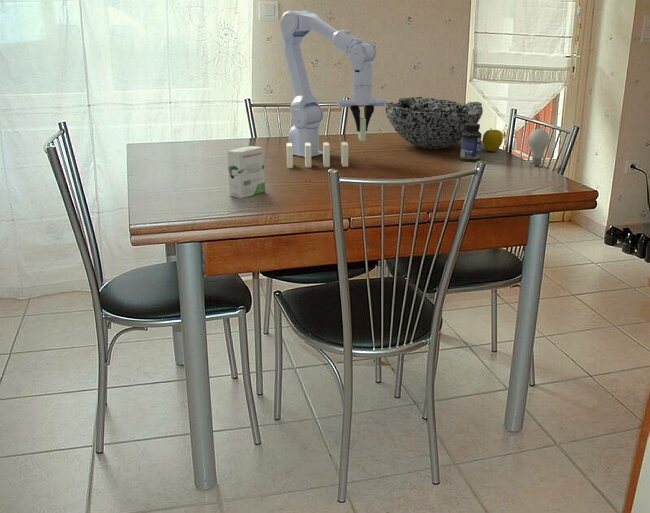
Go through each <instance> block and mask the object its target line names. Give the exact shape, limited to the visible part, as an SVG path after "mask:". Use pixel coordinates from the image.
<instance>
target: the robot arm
mask: <svg viewBox="0 0 650 513" xmlns="http://www.w3.org/2000/svg"><path fill="white" fill-rule="evenodd" d="M279 26H280V30H281V31H280V32H281V34H280V44H281V49H282V53H283V57H284V60H285V65H286V68H287V72H288V73H287V74H288V78H289V81H290V85H291V89H292V94H293V97H294V99H293V100H292V102H291V104H290V105H289V106H290V110H291V112H290V120H291V122H292V124H293V126H292V127H290V130H289V132H288V143H292V150H293V155H294V156H299V157H304V158H305V143H310V144H311V158H312V157H316V156H320V155H323V151H321V150H320V149H319V148H320V147H319V146H320V140H319V139H320V134H319V128H320V123H321V122H322V120H323V118H324V110H323V109H322V107H321V106H320V103H319V100H318V99H317V98H316V96H314V95H313V94H312V92H311V87H310V86H311V85H310V84H309V79H308V75H307V71H306V66H305V62H304V58H303V54H302V49H301V46H300V45H301V43H302V41H303V39H305V37H306V36H307V35H308V34H309V33H310V32H311V31H313V32H314V33H317V34H318V35H320V36H323V38H325V39H327V40H330V41H331V44H332V47H333V48H334V49H336V50H338V51H339V52H341V53H342V54H344V55H345V56H348V58H349V60H350V62H351V68H352V99H340V100H337V107H338V108H349V109H350V111H351V113H352V116H353V118H354V122H355V126H356V127H355V128H356V132H360V117H361V109H360V107H361V108H362V107H363V114H364V115H363V116H364V118H365V119H366V132H368V127H369V124H370V120H371V118H372V115H373V114H374V111H375V107H385V108H386V106H387V103H388V102H387V101H388V100H387V98H386V99H385V98H384V99H383V98H380V99H379V98H372V97H373V96H372V95H373V93H372V92H373V85H372V84H373V61H374V60H375V58H376V55H377V51H376V46H375V45H374V44H372V43H371V42H370V41H364V42H363V39H362V38H360V37H358V38H357V37H356V36H354V35H353V34H351V31H350V30H349V29H340V30H337V29H336V28H334V27H333V26H332V25H330V24H329V23H328V22H326V21H324V20H323V19H321V17H319V16H318V15H317V14H316V13H313V12H311V10H306V9H305V10H296V11H294V10H287V11H285V12H284V13H283V14H282V16H281V18H280V20H279Z"/></svg>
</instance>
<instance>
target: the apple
mask: <svg viewBox="0 0 650 513" xmlns="http://www.w3.org/2000/svg"><path fill="white" fill-rule="evenodd" d="M503 140H504V135H503V133H502V131H501V130H499V129H492V128H491V127H490V129H488V130H486V131H484V133H483V135H482V138H481V142H482V145H483V148H484V149H485V150H486V151H489V152H496V151H498V149H499V148H500V147H501V146H502V144H503Z"/></svg>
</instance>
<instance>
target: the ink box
mask: <svg viewBox="0 0 650 513" xmlns="http://www.w3.org/2000/svg"><path fill="white" fill-rule="evenodd" d="M264 152H265V151H264V147H262V146H252V145H249V146H245V147H240V148H235V149H230V150H227V165H228V168H227V170H228V184H229V186H228V187H229V188H228V189H229V190H228V191H229V196H231V197H234V198H239V199H245V198H247V197H251V196H255V195H257V194H263V193H265V192H266V179H265V153H264Z"/></svg>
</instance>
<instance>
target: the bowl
mask: <svg viewBox="0 0 650 513" xmlns="http://www.w3.org/2000/svg"><path fill="white" fill-rule="evenodd" d="M482 104H483V103H482V102H480V101H469V102H467V103H465V104H462V103H461V102H457V101H453V100H447V99H440V98H439V99H438V98H437V99H436V98H434V97H422V96H410V97H400V98H399V99H398V102H393V101H389V102H387V106H385V114H386V117H387V119H388V120H389V122H390V124H391V126H392V127H393V128H394V131H395V132H396V133H397V134H398V135H399V136H400V137H402V138H403V139H404V140H405V141H406V142H407V143H410V144H411V145H413V146H415V147H419V148H422V149H427V150H439V149H445V148H448V147H451V146H453V145H456V144H457V143H459V142H461V134H462V132H464V131H465V129H464V124H466V123H477V124H479V122H480V120H481V118H482V116H483V112H484V109H483V105H482Z"/></svg>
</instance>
